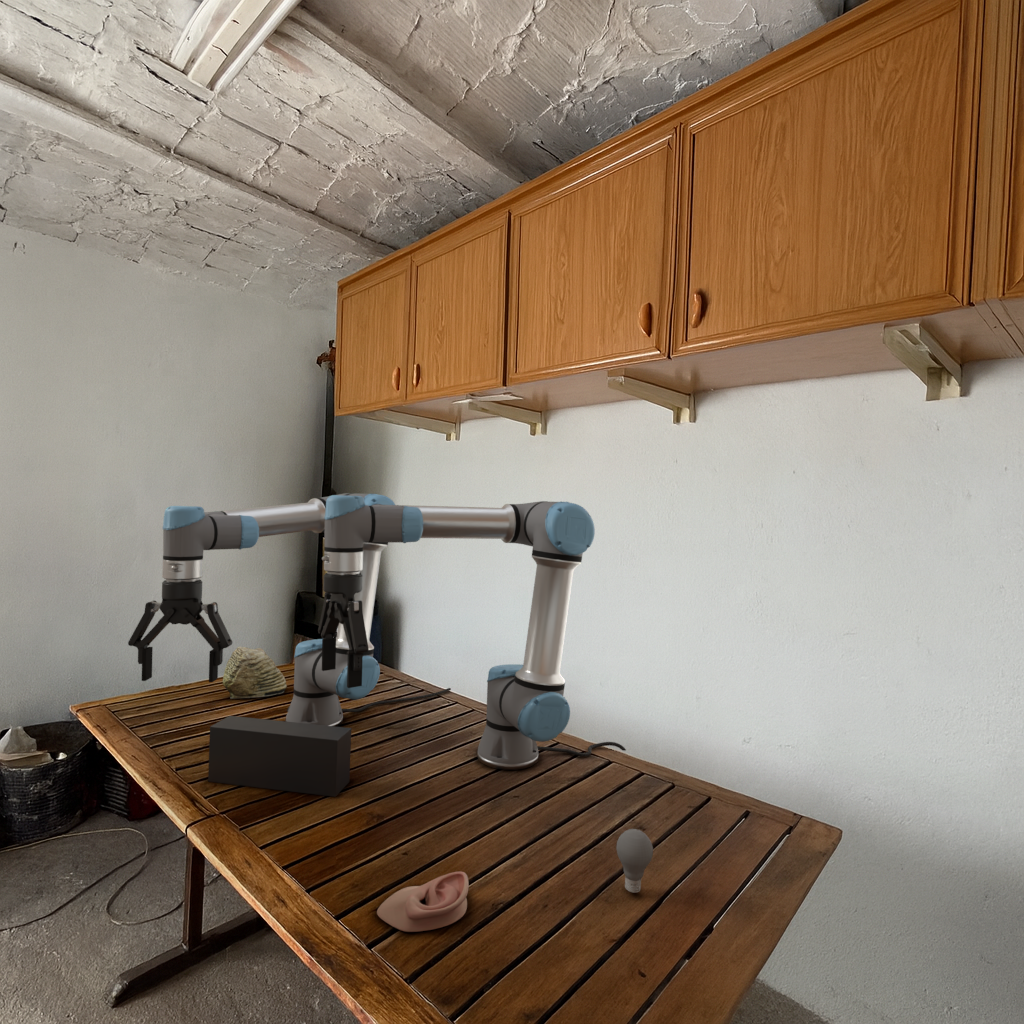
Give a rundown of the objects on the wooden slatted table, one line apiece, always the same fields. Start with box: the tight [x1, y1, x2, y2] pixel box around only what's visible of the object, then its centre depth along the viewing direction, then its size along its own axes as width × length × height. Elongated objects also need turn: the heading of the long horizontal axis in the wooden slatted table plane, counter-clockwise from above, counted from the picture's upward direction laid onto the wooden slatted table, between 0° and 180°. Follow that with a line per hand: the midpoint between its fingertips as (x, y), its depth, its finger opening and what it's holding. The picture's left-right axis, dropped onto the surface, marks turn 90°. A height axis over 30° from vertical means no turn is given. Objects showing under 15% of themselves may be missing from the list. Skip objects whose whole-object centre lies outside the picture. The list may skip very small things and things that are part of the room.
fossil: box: [222, 646, 288, 699], centre depth 198 cm, size 9×18×15 cm, turn 132°
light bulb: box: [615, 828, 654, 894], centre depth 106 cm, size 6×6×10 cm
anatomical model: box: [376, 871, 470, 933], centre depth 99 cm, size 13×4×12 cm
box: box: [207, 715, 352, 798], centre depth 140 cm, size 30×7×12 cm, turn 81°
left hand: (180, 679), depth 133 cm, fingers open, 13 cm apart
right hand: (340, 677), depth 127 cm, fingers open, 13 cm apart
